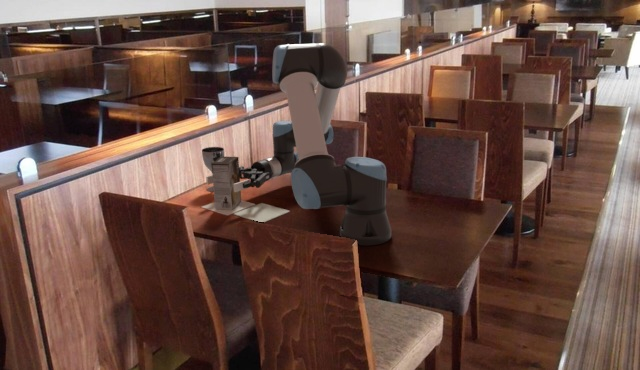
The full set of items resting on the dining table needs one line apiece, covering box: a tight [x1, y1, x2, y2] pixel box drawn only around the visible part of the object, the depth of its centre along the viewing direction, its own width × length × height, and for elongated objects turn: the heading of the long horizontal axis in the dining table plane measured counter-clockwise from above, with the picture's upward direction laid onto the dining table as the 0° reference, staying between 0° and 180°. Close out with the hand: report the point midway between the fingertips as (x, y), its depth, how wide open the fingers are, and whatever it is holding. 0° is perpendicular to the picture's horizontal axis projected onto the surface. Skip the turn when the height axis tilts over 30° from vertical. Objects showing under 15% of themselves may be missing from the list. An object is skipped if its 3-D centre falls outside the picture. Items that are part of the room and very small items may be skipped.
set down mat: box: [233, 202, 291, 223], centre depth 195 cm, size 13×13×1 cm
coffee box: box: [211, 156, 242, 210], centre depth 200 cm, size 9×6×16 cm
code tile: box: [201, 199, 257, 216], centre depth 202 cm, size 13×13×1 cm
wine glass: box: [201, 146, 225, 193], centre depth 218 cm, size 8×8×15 cm
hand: (220, 184), depth 198 cm, fingers open, 13 cm apart
